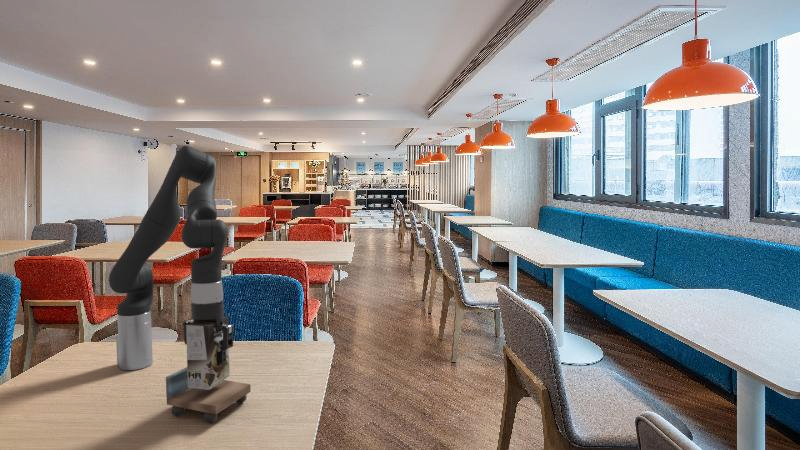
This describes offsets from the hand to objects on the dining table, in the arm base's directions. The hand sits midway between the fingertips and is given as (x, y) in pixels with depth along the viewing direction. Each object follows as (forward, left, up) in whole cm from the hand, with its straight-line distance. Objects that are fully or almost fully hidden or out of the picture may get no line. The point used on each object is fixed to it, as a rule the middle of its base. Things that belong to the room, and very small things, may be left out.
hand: (209, 362), depth 118 cm
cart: (0, 0, -12) cm, 12 cm away
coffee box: (0, 0, -5) cm, 5 cm away
